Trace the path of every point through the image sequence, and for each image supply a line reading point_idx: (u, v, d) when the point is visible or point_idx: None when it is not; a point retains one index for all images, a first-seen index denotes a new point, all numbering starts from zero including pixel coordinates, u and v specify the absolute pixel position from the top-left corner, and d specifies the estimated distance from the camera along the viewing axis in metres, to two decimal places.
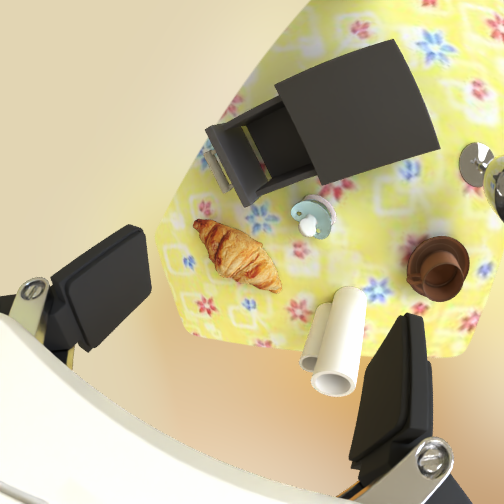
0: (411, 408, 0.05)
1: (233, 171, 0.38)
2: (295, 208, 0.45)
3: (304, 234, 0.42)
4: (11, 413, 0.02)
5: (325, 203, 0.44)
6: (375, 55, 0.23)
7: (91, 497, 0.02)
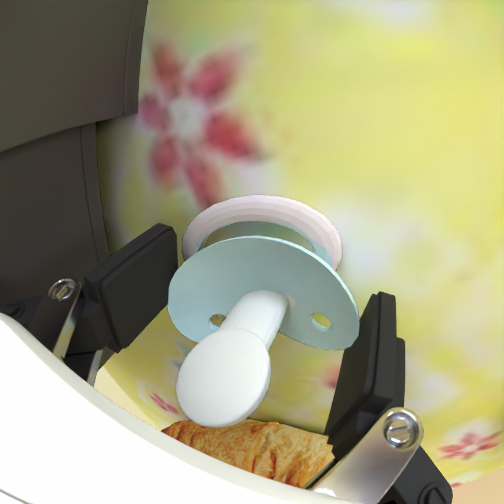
0: (377, 376, 0.05)
1: None
2: (188, 320, 0.11)
3: (211, 426, 0.07)
4: (11, 413, 0.02)
5: (231, 214, 0.10)
6: None
7: (91, 497, 0.02)
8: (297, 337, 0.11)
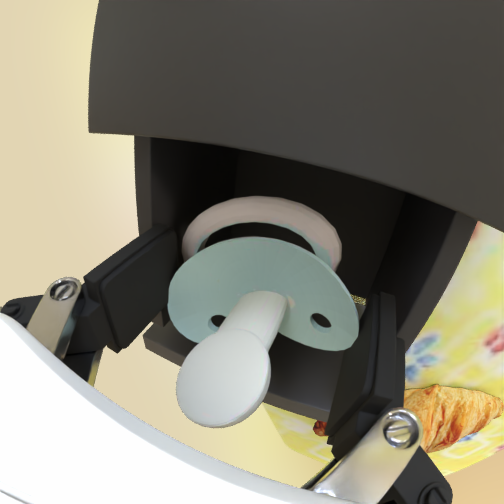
0: (376, 376, 0.05)
1: None
2: (188, 321, 0.11)
3: (211, 426, 0.07)
4: (11, 413, 0.02)
5: (231, 215, 0.10)
6: None
7: (91, 497, 0.02)
8: (297, 337, 0.11)
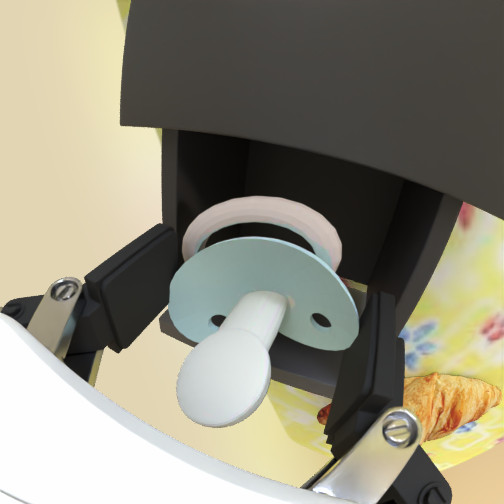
0: (376, 376, 0.05)
1: (276, 368, 0.14)
2: (188, 321, 0.11)
3: (212, 426, 0.07)
4: (11, 413, 0.02)
5: (231, 215, 0.10)
6: None
7: (91, 497, 0.02)
8: (297, 337, 0.11)
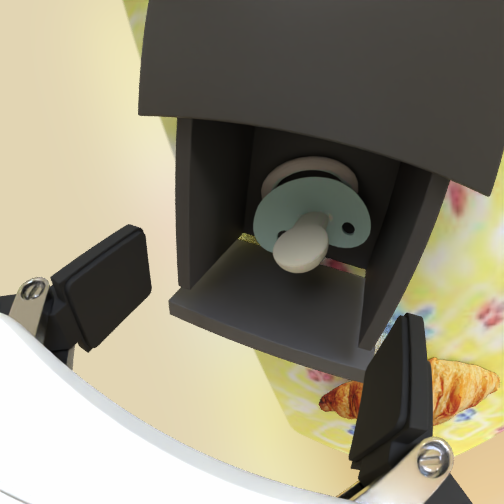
0: (411, 408, 0.05)
1: (281, 345, 0.15)
2: (264, 234, 0.18)
3: (300, 268, 0.14)
4: (11, 413, 0.02)
5: (298, 166, 0.17)
6: None
7: (91, 497, 0.02)
8: (333, 242, 0.18)
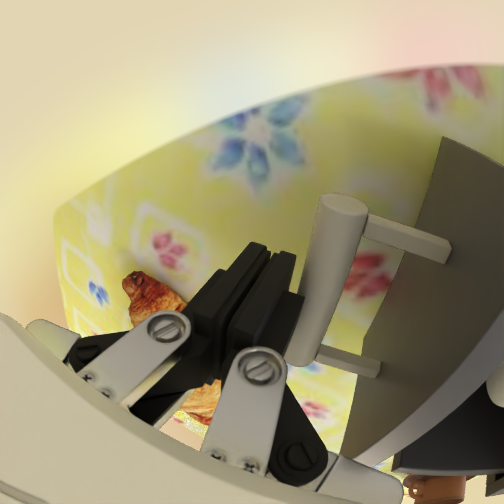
0: (243, 314, 0.07)
1: (421, 433, 0.06)
2: None
3: None
4: (11, 413, 0.02)
5: None
6: None
7: (91, 497, 0.02)
8: None
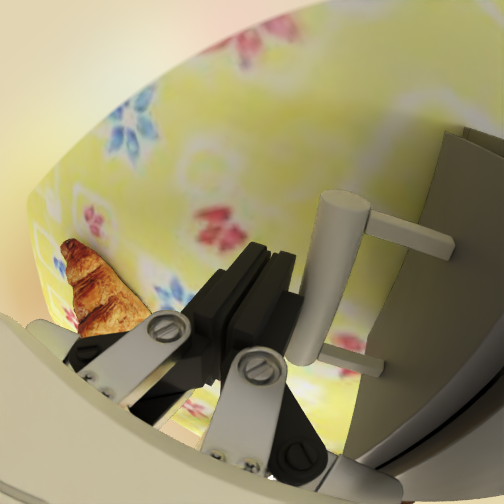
0: (243, 314, 0.07)
1: (425, 433, 0.06)
2: None
3: None
4: (11, 413, 0.02)
5: None
6: None
7: (91, 497, 0.02)
8: None
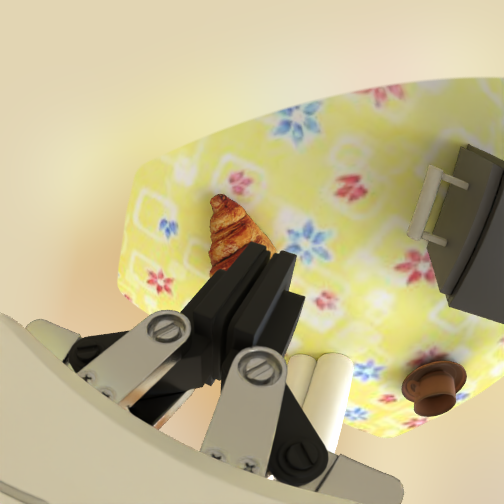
0: (243, 314, 0.07)
1: (473, 246, 0.18)
2: None
3: None
4: (11, 413, 0.02)
5: None
6: None
7: (91, 497, 0.02)
8: None
